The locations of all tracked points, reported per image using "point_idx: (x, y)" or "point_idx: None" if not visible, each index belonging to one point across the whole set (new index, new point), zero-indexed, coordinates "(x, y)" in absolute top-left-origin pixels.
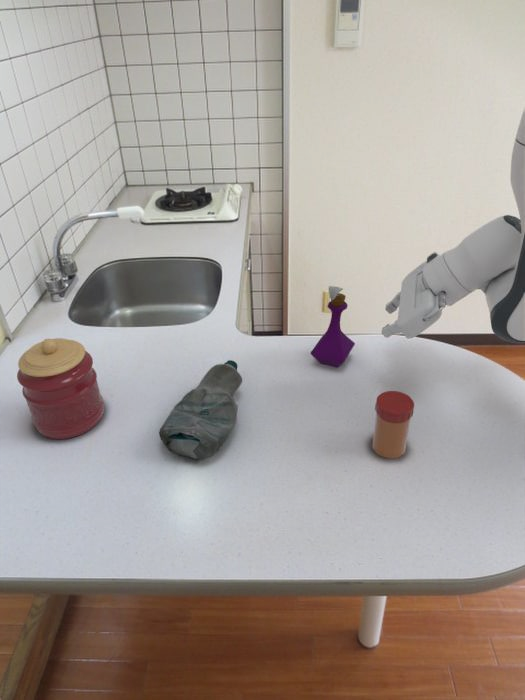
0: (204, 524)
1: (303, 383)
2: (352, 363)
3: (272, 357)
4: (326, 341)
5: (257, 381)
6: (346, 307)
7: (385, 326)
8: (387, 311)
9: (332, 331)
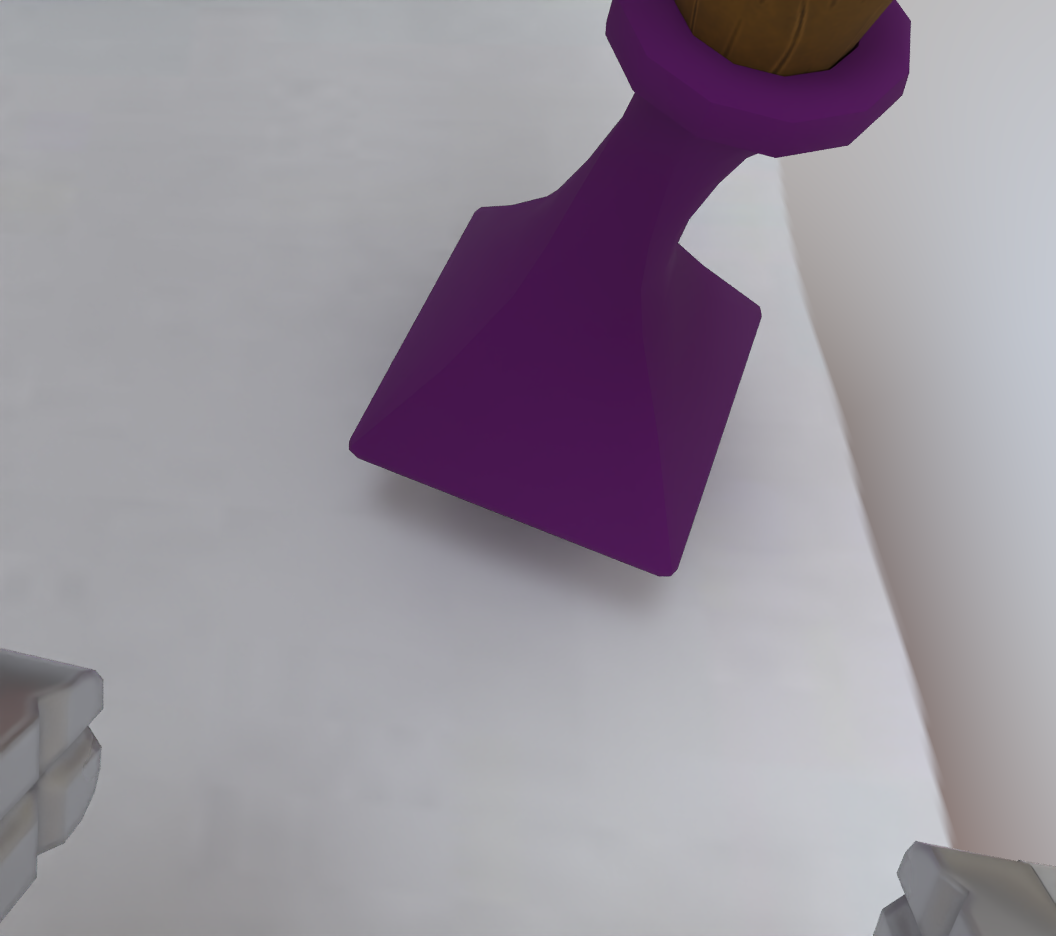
0: None
1: (260, 240)
2: (521, 599)
3: (573, 85)
4: (498, 236)
5: (306, 13)
6: (698, 114)
7: (3, 706)
8: (897, 899)
9: (539, 213)
